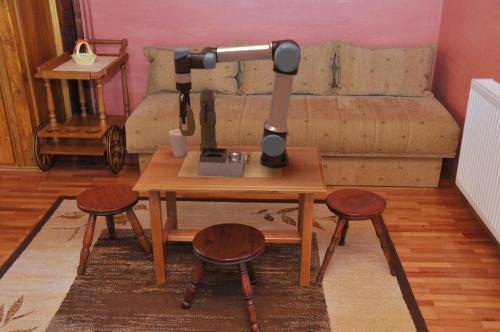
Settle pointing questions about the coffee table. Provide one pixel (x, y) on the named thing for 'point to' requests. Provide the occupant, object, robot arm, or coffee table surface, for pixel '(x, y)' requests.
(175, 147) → the foam cup
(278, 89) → the robot arm
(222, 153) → the grey box with recess
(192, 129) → the squeeze bottle
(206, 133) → the dark brown statue
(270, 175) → the coffee table surface
